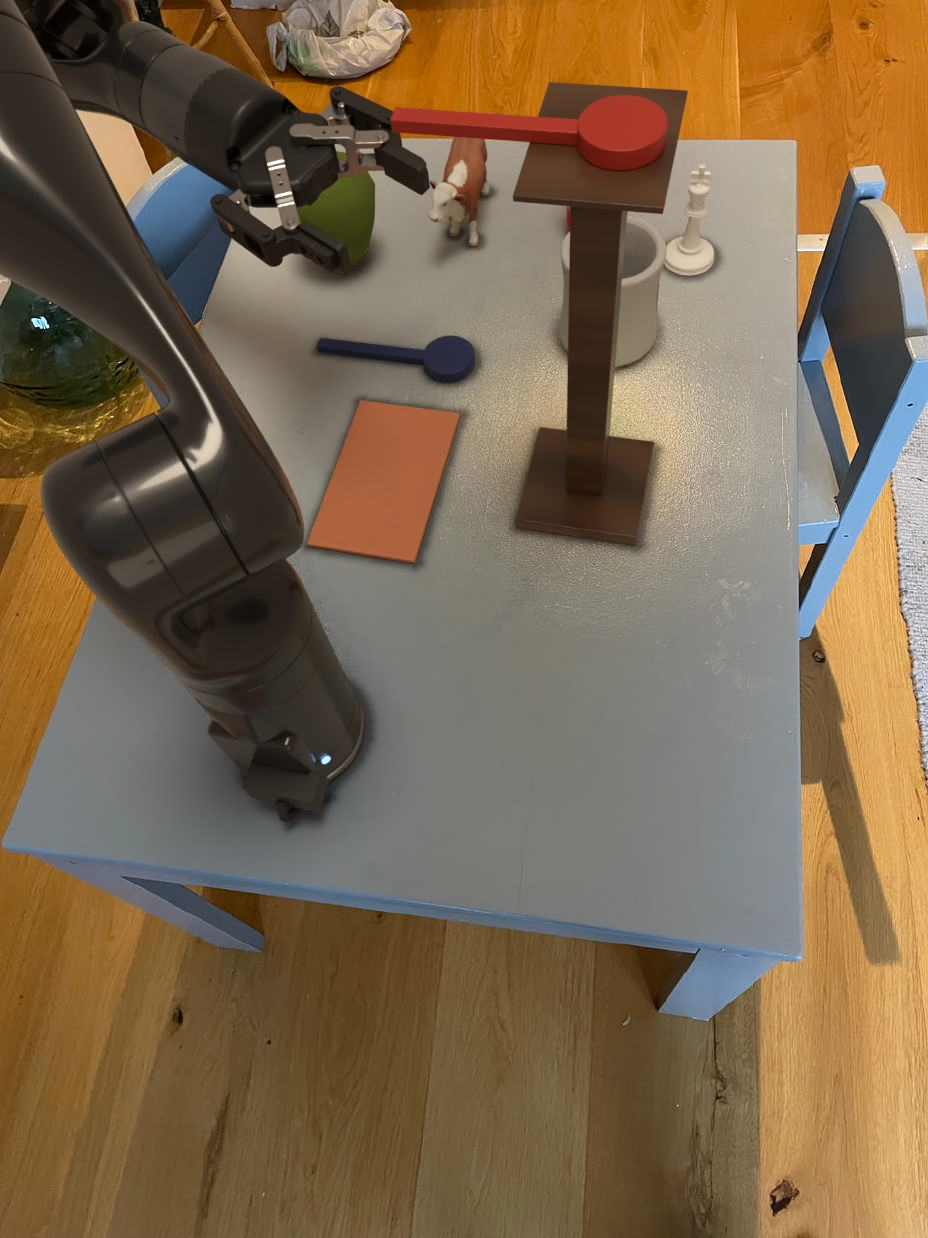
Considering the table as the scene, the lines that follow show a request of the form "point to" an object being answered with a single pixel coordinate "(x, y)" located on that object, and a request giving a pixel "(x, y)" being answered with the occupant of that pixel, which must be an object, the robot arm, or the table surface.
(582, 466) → the spoon stand
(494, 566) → the table surface
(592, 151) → the red spoon
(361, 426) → the terracotta mat
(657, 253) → the mug
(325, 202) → the apple
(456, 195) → the bull figurine
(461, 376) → the navy spoon
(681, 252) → the chess piece
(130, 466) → the robot arm
